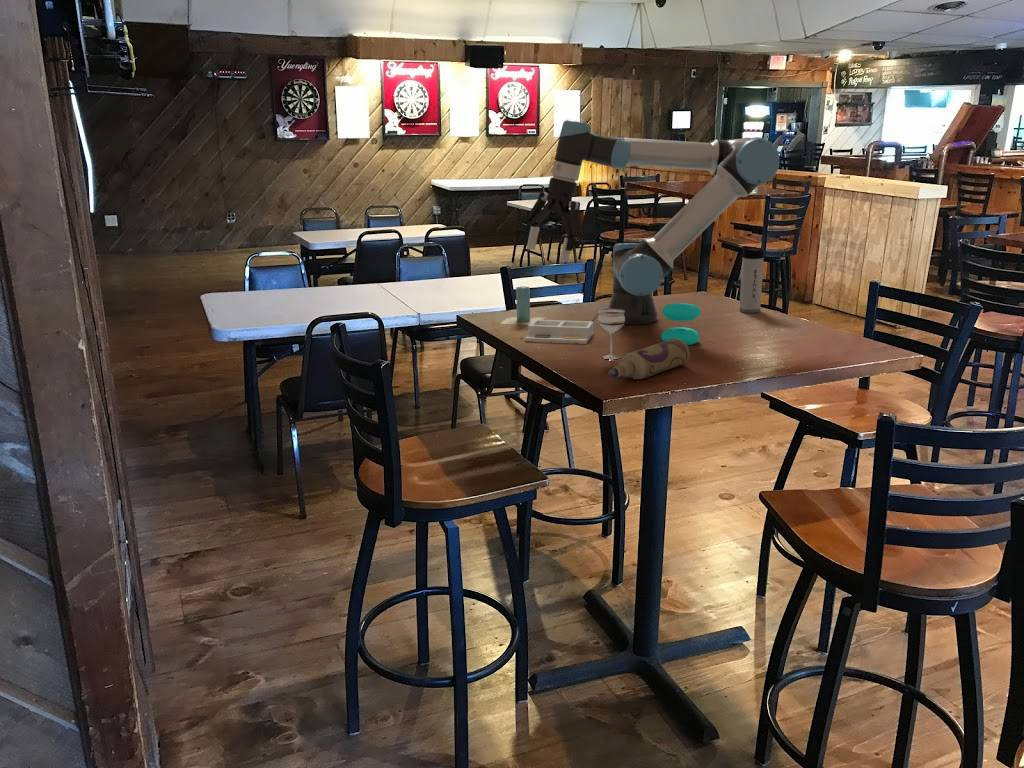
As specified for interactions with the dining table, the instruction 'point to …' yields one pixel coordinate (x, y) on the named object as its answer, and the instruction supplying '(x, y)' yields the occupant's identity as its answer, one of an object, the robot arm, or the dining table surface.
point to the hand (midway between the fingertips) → (546, 255)
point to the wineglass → (611, 325)
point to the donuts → (681, 314)
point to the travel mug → (751, 279)
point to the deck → (514, 321)
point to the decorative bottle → (652, 360)
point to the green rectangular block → (523, 303)
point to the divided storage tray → (560, 331)
